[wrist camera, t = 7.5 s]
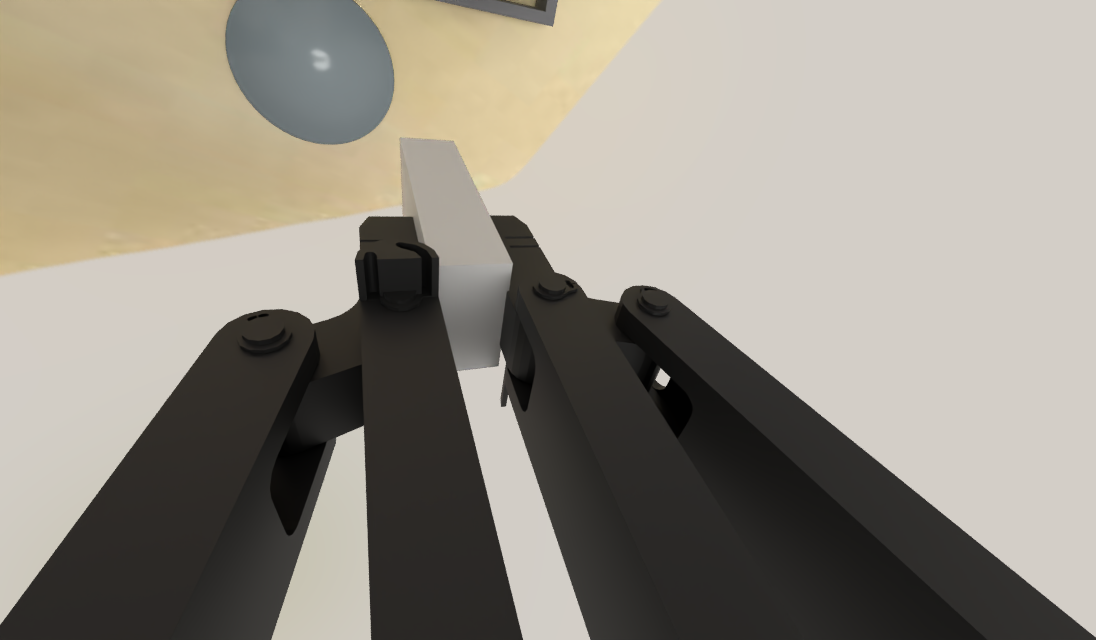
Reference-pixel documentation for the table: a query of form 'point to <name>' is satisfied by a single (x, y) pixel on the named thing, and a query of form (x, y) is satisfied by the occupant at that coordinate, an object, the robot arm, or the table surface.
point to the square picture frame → (514, 9)
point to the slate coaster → (311, 66)
